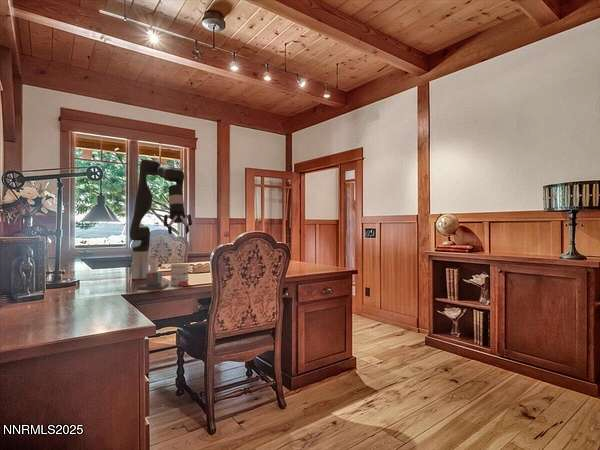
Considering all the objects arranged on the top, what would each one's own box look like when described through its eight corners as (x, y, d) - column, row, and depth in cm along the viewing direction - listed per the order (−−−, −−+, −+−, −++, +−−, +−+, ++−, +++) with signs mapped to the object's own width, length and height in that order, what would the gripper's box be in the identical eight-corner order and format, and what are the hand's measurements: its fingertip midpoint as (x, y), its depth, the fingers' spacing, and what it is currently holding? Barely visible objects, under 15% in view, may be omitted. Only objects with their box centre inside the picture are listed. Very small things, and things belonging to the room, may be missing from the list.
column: (149, 285, 185) (149, 255, 185) (151, 283, 188) (151, 255, 188) (156, 284, 185) (156, 255, 185) (158, 283, 188) (158, 255, 188)
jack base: (138, 289, 180) (138, 274, 180) (146, 285, 192) (146, 271, 192) (161, 289, 181) (162, 274, 181) (168, 285, 193) (168, 271, 193)
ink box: (188, 284, 198) (188, 263, 198) (184, 285, 193) (185, 264, 193) (174, 283, 199) (174, 263, 199) (170, 285, 194) (170, 264, 194)
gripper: (187, 206, 195) (190, 234, 192) (161, 206, 186) (163, 235, 184) (191, 202, 188) (194, 232, 186) (164, 202, 180) (166, 233, 178)
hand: (178, 233), depth 185 cm, fingers open, 8 cm apart
